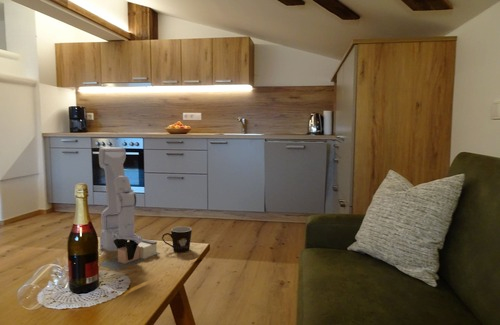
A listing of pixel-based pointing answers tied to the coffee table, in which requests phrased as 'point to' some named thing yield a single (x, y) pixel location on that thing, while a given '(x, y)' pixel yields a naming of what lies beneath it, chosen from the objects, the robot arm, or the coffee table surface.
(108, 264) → the mat
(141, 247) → the pad
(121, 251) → the stub
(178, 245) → the coffee mug
